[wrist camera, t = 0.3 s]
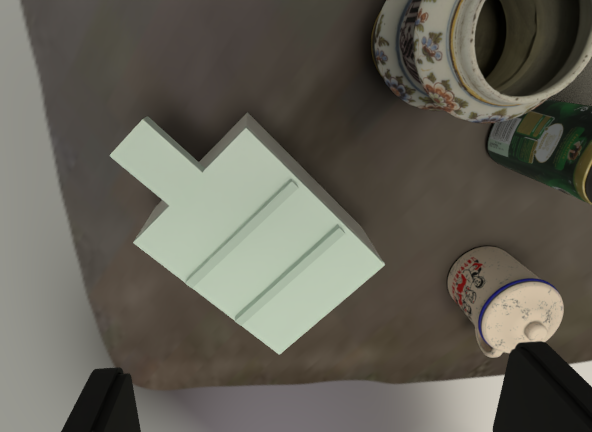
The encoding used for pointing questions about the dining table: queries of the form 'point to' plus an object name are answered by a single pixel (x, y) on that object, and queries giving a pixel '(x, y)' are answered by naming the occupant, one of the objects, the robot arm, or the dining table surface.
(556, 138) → the coffee jar
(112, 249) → the dining table surface
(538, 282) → the teacup with lid
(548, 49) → the apothecary jar
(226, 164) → the lid
